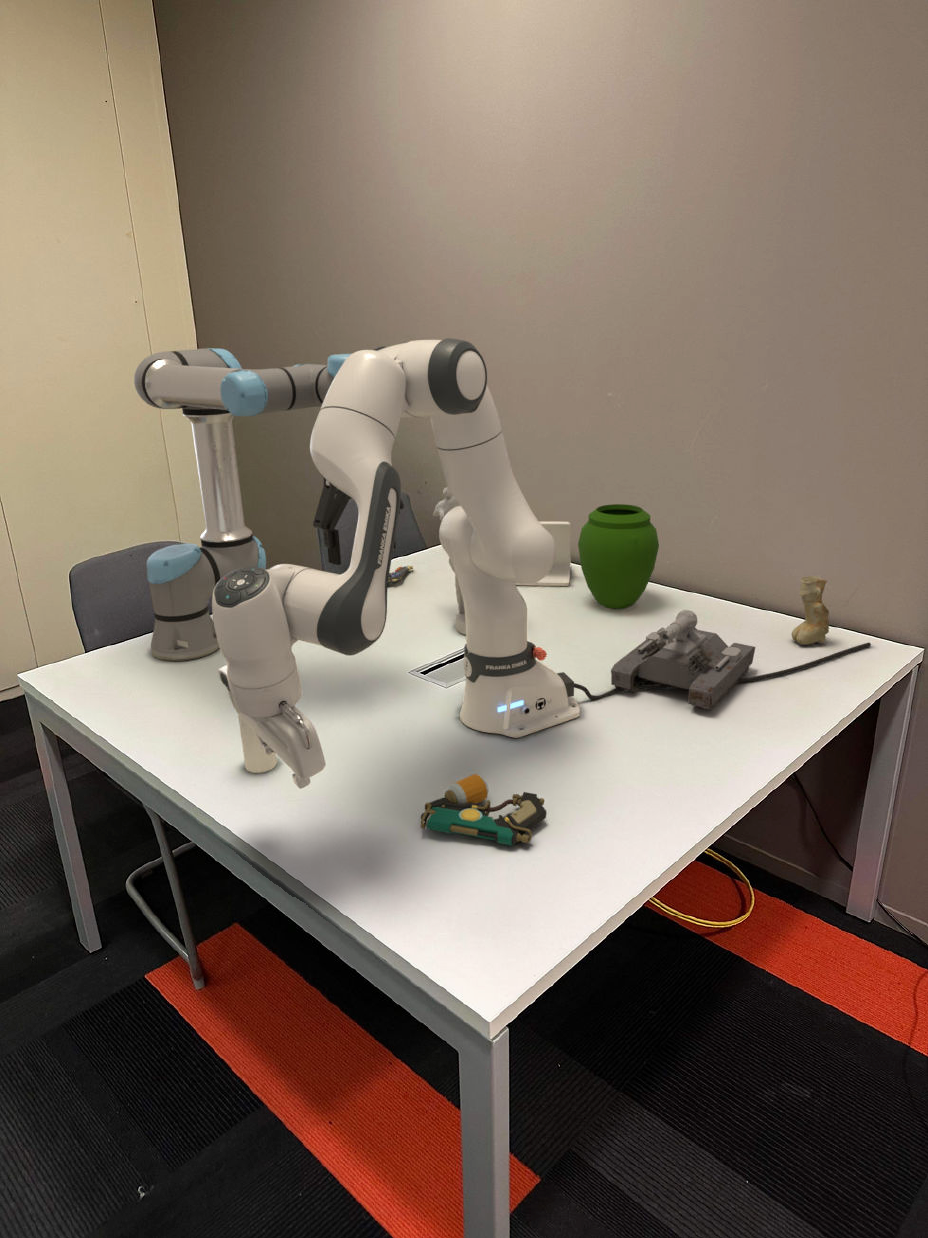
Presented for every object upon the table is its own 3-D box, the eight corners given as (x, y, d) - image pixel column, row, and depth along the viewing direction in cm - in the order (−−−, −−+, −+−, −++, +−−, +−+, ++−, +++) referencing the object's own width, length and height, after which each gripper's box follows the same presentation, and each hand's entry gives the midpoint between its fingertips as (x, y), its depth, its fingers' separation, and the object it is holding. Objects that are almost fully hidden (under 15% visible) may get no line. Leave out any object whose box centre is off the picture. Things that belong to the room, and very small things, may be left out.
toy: (661, 649, 187) (665, 584, 181) (753, 669, 176) (760, 600, 170) (609, 692, 167) (612, 620, 162) (708, 717, 156) (715, 641, 151)
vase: (599, 587, 227) (601, 497, 218) (668, 600, 216) (673, 505, 208) (562, 608, 212) (564, 513, 204) (634, 623, 202) (639, 523, 193)
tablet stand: (569, 585, 229) (570, 524, 223) (476, 584, 232) (475, 523, 226) (570, 566, 246) (571, 508, 240) (484, 564, 249) (483, 507, 243)
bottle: (264, 775, 142) (250, 660, 135) (239, 769, 144) (223, 655, 136) (282, 760, 146) (269, 648, 139) (257, 755, 148) (243, 643, 141)
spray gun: (557, 816, 129) (509, 874, 118) (464, 782, 137) (410, 832, 126) (559, 793, 127) (509, 849, 116) (464, 759, 135) (409, 808, 124)
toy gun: (360, 581, 230) (396, 578, 228) (380, 565, 248) (413, 562, 246) (362, 591, 231) (397, 588, 228) (381, 574, 248) (414, 571, 246)
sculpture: (787, 638, 190) (794, 574, 185) (818, 636, 191) (826, 572, 186) (799, 648, 185) (807, 582, 180) (831, 646, 186) (840, 580, 180)
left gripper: (312, 454, 144) (323, 574, 152) (418, 435, 161) (423, 544, 169) (286, 450, 149) (297, 566, 157) (391, 432, 166) (397, 538, 173)
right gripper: (327, 712, 106) (344, 794, 113) (253, 647, 120) (272, 724, 128) (282, 734, 103) (302, 817, 110) (212, 665, 117) (234, 743, 124)
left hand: (363, 555), depth 163 cm, fingers open, 13 cm apart
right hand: (286, 767), depth 119 cm, fingers open, 8 cm apart
